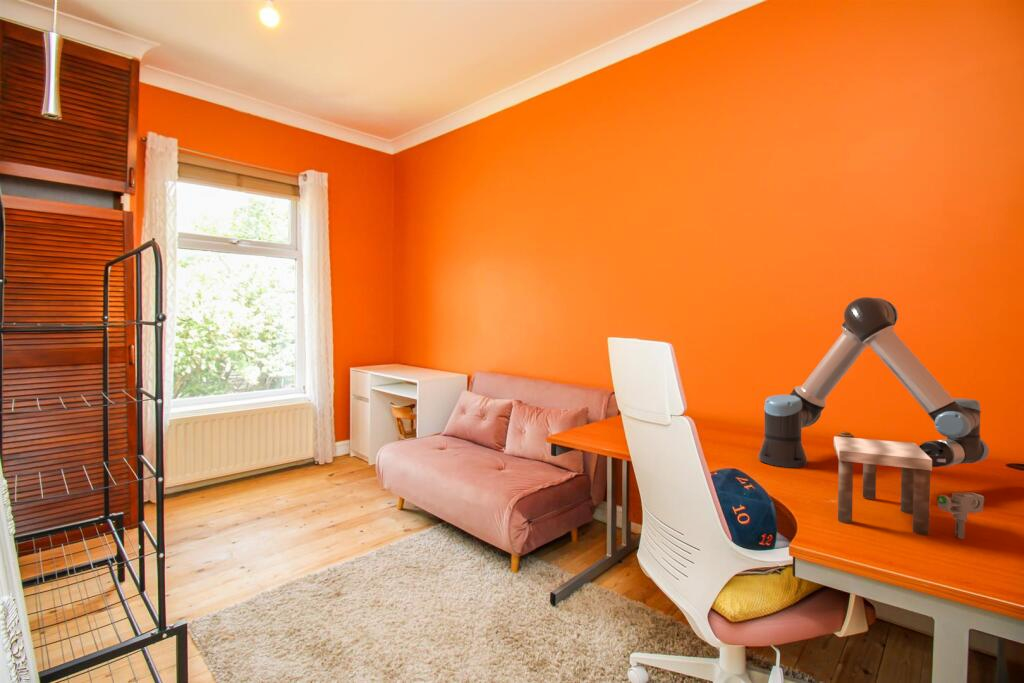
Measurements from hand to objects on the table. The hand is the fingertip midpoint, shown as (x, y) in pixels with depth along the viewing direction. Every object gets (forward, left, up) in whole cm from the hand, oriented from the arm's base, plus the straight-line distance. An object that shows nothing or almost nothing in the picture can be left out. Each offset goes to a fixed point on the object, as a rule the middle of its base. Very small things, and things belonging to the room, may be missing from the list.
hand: (880, 460), depth 143 cm
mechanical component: (+12, -25, -11) cm, 30 cm away
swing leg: (-3, -7, -10) cm, 13 cm away
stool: (-3, -18, -11) cm, 21 cm away
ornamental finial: (-4, +54, -11) cm, 55 cm away
